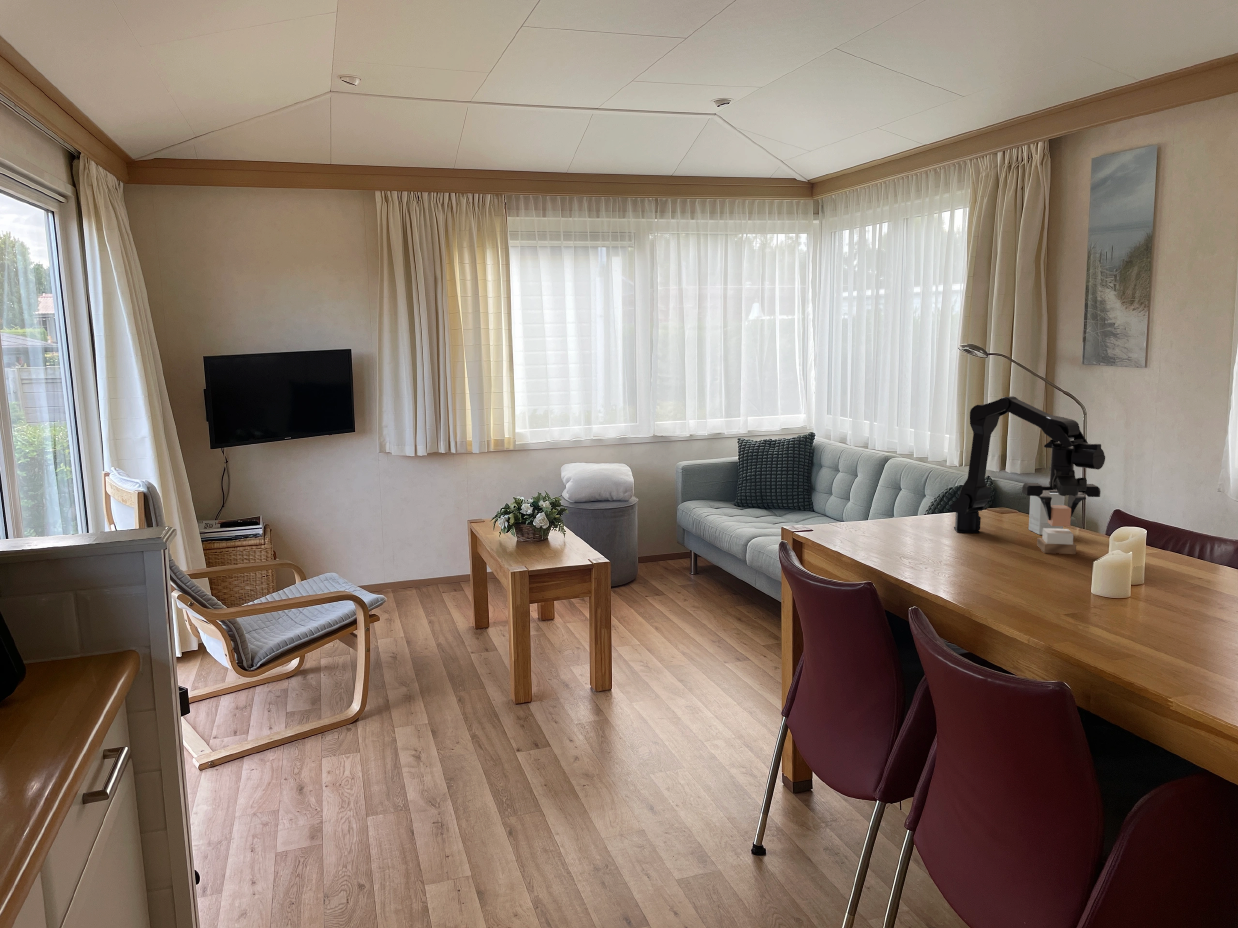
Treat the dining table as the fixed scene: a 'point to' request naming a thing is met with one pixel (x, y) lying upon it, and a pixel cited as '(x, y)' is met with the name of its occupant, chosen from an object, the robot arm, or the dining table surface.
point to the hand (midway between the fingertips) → (1058, 520)
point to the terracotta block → (1060, 515)
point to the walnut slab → (1056, 547)
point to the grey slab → (1057, 536)
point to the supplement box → (1042, 513)
